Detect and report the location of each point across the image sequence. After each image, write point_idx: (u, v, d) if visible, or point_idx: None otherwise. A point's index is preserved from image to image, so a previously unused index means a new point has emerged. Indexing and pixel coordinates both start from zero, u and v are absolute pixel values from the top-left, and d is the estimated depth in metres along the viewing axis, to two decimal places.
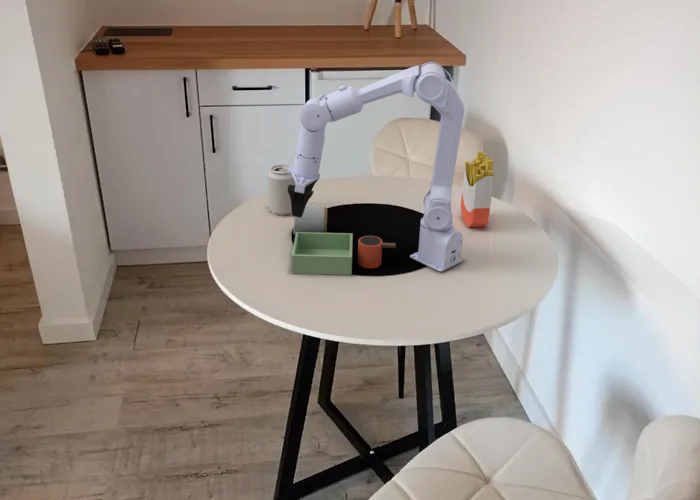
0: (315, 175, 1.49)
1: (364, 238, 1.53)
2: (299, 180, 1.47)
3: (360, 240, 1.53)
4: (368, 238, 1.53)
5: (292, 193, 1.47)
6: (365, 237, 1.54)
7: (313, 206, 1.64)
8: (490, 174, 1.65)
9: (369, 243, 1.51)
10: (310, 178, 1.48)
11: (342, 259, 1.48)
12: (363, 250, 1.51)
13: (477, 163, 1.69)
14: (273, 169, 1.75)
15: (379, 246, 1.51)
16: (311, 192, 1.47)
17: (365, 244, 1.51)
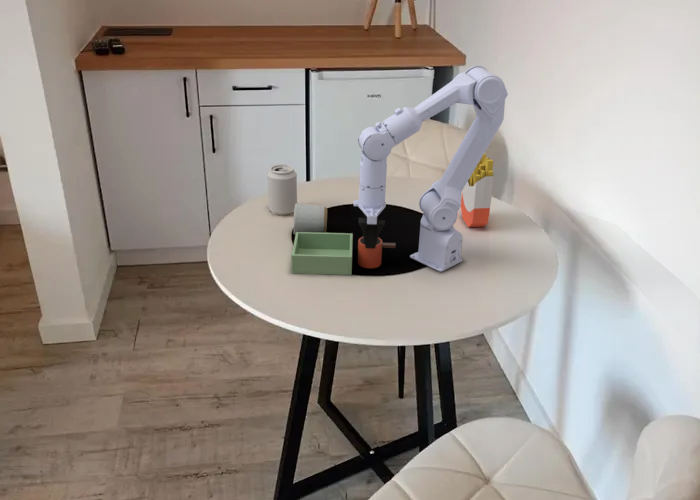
0: (382, 203, 1.47)
1: None
2: (369, 212, 1.44)
3: (360, 240, 1.53)
4: None
5: (364, 226, 1.44)
6: None
7: (313, 206, 1.64)
8: (490, 174, 1.65)
9: None
10: (378, 207, 1.46)
11: (342, 259, 1.48)
12: (363, 250, 1.51)
13: None
14: (273, 169, 1.75)
15: (379, 246, 1.51)
16: (383, 221, 1.45)
17: None
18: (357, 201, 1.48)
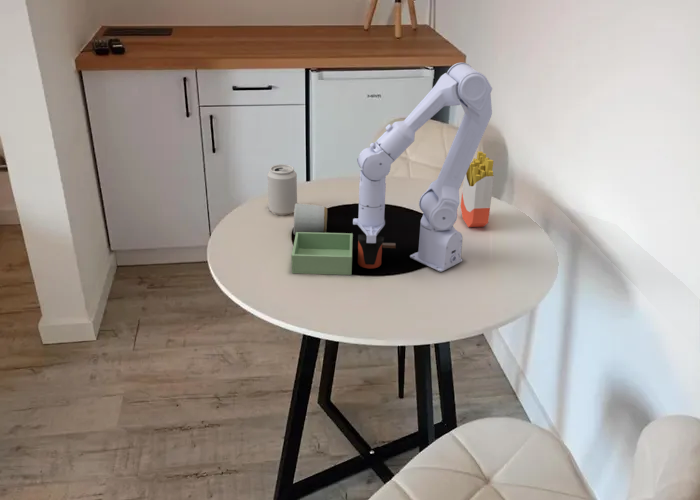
0: (382, 222, 1.49)
1: None
2: (368, 230, 1.46)
3: None
4: None
5: (363, 243, 1.47)
6: None
7: (313, 206, 1.64)
8: (490, 174, 1.65)
9: None
10: (378, 226, 1.48)
11: (342, 259, 1.48)
12: None
13: (477, 163, 1.69)
14: (273, 169, 1.75)
15: None
16: (382, 238, 1.48)
17: None
18: (357, 219, 1.50)
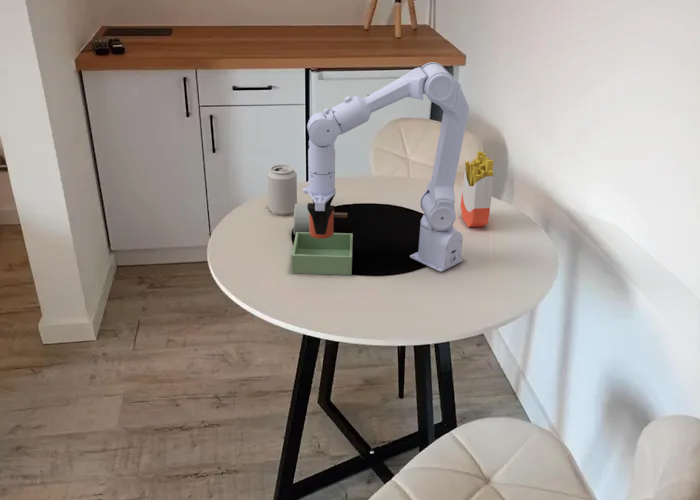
0: (332, 190, 1.45)
1: None
2: (317, 198, 1.43)
3: None
4: None
5: (313, 211, 1.44)
6: None
7: None
8: (490, 174, 1.65)
9: None
10: (328, 194, 1.45)
11: (342, 259, 1.48)
12: None
13: (477, 163, 1.69)
14: (273, 169, 1.75)
15: (330, 216, 1.48)
16: (331, 207, 1.44)
17: None
18: (307, 188, 1.47)
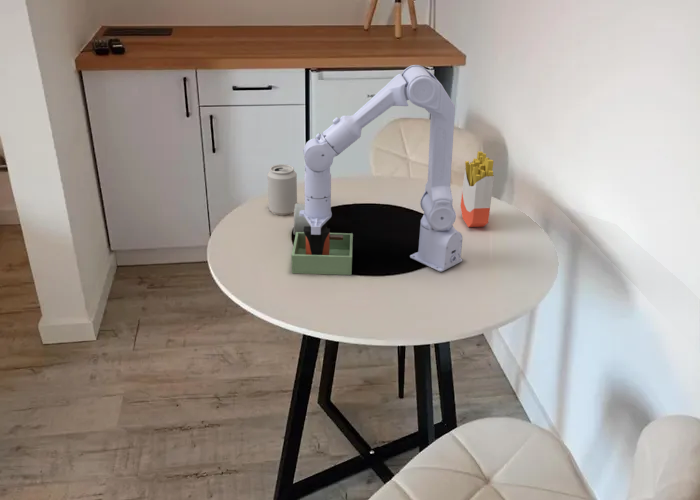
0: (328, 214, 1.48)
1: None
2: (313, 222, 1.45)
3: None
4: None
5: (309, 234, 1.46)
6: None
7: None
8: (490, 174, 1.65)
9: None
10: (324, 218, 1.47)
11: (342, 259, 1.48)
12: None
13: (477, 163, 1.69)
14: (273, 169, 1.75)
15: (326, 238, 1.51)
16: (327, 230, 1.47)
17: None
18: (303, 211, 1.50)
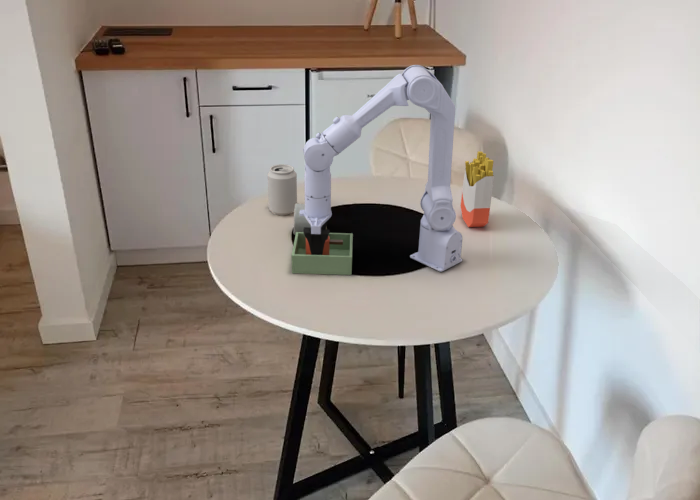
0: (328, 213, 1.48)
1: None
2: (313, 221, 1.45)
3: None
4: None
5: (309, 235, 1.46)
6: None
7: None
8: (490, 174, 1.65)
9: None
10: (324, 217, 1.47)
11: (342, 259, 1.48)
12: None
13: (477, 163, 1.69)
14: (273, 169, 1.75)
15: (326, 243, 1.51)
16: (327, 231, 1.46)
17: None
18: (303, 211, 1.50)
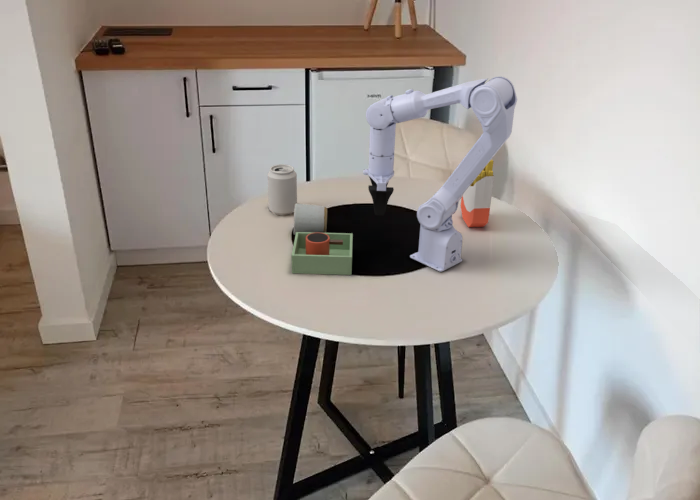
0: (391, 172, 1.54)
1: (312, 235, 1.53)
2: (378, 179, 1.51)
3: (307, 237, 1.52)
4: (316, 235, 1.53)
5: (374, 193, 1.51)
6: (313, 234, 1.54)
7: (313, 206, 1.64)
8: (490, 174, 1.65)
9: (316, 240, 1.51)
10: (387, 175, 1.53)
11: (342, 259, 1.48)
12: (310, 247, 1.51)
13: None
14: (273, 169, 1.75)
15: (326, 243, 1.51)
16: (391, 188, 1.52)
17: (312, 241, 1.51)
18: (367, 170, 1.55)
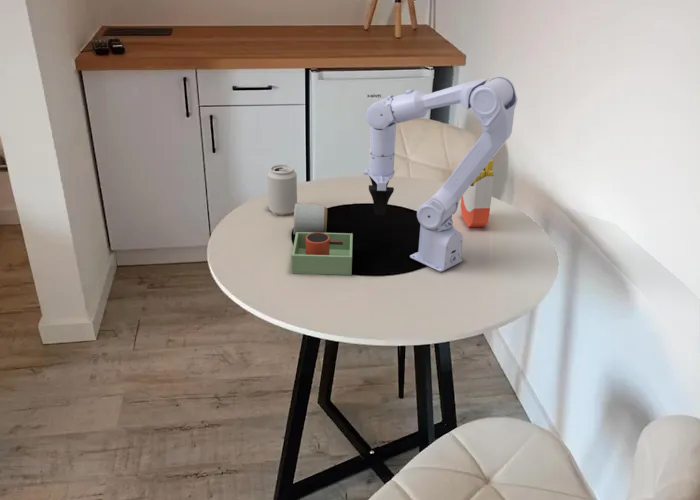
0: (391, 172, 1.54)
1: (312, 235, 1.53)
2: (379, 179, 1.51)
3: (307, 237, 1.52)
4: (316, 235, 1.53)
5: (374, 193, 1.51)
6: (313, 234, 1.54)
7: (313, 206, 1.64)
8: (490, 174, 1.65)
9: (316, 240, 1.51)
10: (388, 175, 1.53)
11: (342, 259, 1.48)
12: (310, 247, 1.51)
13: None
14: (273, 169, 1.75)
15: (326, 243, 1.51)
16: (392, 188, 1.52)
17: (312, 241, 1.51)
18: (367, 170, 1.55)
